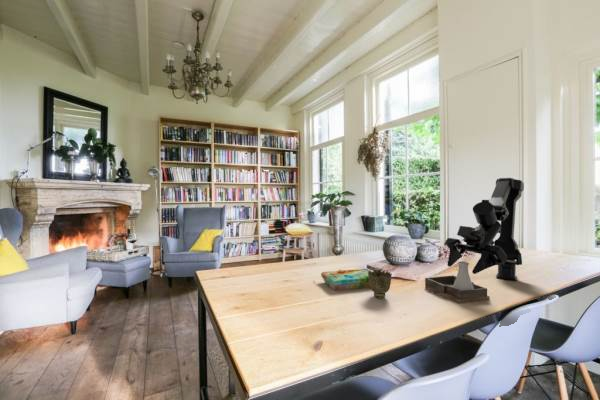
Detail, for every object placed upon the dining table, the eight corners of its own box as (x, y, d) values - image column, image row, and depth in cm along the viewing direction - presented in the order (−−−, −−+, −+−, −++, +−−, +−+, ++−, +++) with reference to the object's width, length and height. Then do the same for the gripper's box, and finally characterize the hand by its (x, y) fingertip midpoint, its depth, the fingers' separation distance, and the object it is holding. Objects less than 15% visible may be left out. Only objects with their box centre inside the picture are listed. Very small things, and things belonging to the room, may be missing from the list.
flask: (472, 290, 95) (473, 260, 95) (479, 298, 88) (479, 266, 88) (448, 288, 98) (448, 259, 97) (452, 295, 91) (453, 264, 90)
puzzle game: (321, 270, 108) (367, 266, 114) (321, 282, 108) (367, 278, 114) (334, 279, 97) (384, 274, 103) (334, 292, 97) (384, 287, 103)
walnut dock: (425, 287, 101) (425, 277, 101) (452, 285, 105) (452, 275, 104) (458, 303, 87) (458, 291, 87) (489, 299, 90) (489, 288, 90)
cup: (378, 302, 88) (379, 276, 87) (363, 295, 94) (363, 271, 94) (396, 298, 91) (396, 273, 91) (380, 291, 98) (380, 268, 97)
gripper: (449, 215, 102) (424, 247, 99) (501, 219, 85) (474, 259, 81) (464, 236, 105) (441, 268, 102) (518, 244, 88) (493, 283, 84)
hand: (460, 269), depth 92 cm, fingers open, 9 cm apart
